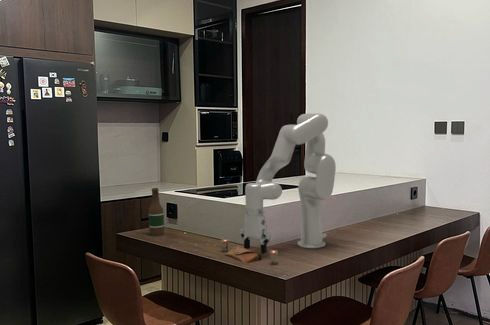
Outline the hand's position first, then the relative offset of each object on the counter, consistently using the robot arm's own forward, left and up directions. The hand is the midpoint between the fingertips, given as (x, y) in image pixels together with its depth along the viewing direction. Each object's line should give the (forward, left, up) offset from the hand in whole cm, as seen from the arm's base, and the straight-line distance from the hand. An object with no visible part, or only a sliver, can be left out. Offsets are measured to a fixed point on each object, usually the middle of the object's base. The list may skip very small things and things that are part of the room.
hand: (255, 251), depth 207 cm
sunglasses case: (+6, -2, -2) cm, 7 cm away
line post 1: (+4, -14, -2) cm, 15 cm away
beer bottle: (+4, -64, -2) cm, 64 cm away
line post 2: (+4, +14, -2) cm, 15 cm away
